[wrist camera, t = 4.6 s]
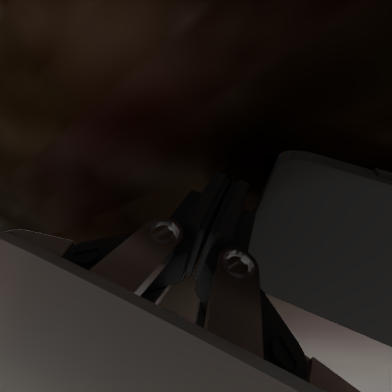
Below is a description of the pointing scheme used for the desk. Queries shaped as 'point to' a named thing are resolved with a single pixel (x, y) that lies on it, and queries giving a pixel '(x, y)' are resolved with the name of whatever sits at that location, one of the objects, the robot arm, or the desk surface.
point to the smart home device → (327, 240)
